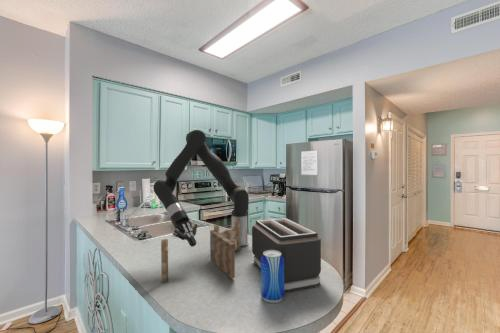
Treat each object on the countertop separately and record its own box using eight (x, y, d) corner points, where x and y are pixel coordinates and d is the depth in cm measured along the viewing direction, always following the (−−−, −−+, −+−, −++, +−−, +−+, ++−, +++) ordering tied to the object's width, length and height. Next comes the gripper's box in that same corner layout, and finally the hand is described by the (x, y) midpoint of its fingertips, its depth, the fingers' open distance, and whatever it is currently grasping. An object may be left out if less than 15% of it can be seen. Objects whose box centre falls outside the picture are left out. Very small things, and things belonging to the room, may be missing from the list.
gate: (209, 258, 118) (209, 230, 118) (213, 257, 119) (213, 229, 119) (230, 278, 97) (230, 244, 97) (235, 277, 98) (235, 243, 98)
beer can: (259, 291, 89) (259, 249, 89) (281, 290, 90) (281, 248, 89) (262, 305, 81) (262, 258, 80) (286, 303, 81) (286, 257, 81)
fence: (237, 248, 134) (236, 218, 133) (240, 249, 132) (240, 219, 132) (160, 281, 97) (159, 240, 97) (163, 283, 95) (163, 241, 95)
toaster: (284, 254, 126) (284, 215, 126) (324, 286, 93) (324, 234, 93) (250, 258, 120) (249, 218, 120) (279, 294, 87) (279, 239, 87)
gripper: (168, 212, 106) (185, 244, 99) (192, 207, 117) (209, 236, 109) (161, 222, 109) (178, 254, 102) (185, 216, 120) (201, 245, 113)
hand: (194, 245), depth 106 cm, fingers closed
